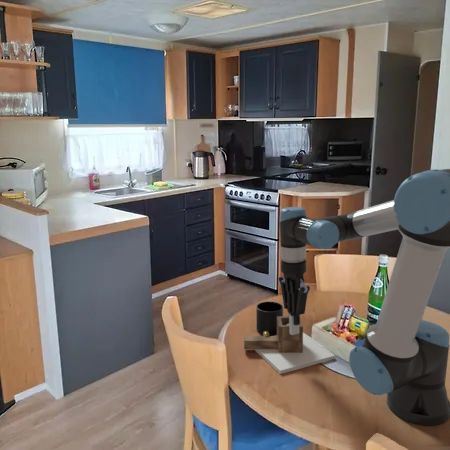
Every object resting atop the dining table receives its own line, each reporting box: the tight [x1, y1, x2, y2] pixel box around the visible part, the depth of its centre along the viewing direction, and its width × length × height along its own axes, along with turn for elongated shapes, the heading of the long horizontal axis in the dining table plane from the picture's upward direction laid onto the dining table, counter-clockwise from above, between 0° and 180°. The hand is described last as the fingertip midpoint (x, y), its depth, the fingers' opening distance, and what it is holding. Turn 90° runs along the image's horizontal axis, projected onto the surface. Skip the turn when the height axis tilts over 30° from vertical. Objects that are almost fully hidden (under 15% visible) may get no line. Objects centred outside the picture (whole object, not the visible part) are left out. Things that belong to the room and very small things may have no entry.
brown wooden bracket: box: [243, 315, 304, 353], centre depth 145 cm, size 19×8×9 cm, turn 88°
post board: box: [253, 324, 336, 375], centre depth 144 cm, size 20×20×9 cm
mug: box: [255, 301, 284, 336], centre depth 161 cm, size 9×12×9 cm
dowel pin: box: [262, 331, 270, 336], centre depth 148 cm, size 2×2×4 cm
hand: (294, 333), depth 137 cm, fingers closed
